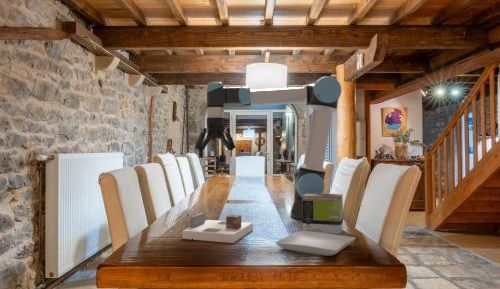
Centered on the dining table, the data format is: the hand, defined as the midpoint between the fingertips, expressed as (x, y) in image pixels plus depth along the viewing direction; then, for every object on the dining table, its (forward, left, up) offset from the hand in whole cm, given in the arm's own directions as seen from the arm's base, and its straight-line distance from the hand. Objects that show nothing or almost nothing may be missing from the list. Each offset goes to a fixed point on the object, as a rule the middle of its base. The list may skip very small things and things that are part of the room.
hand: (215, 165), depth 182 cm
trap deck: (-11, +22, -25) cm, 36 cm away
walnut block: (-17, +22, -22) cm, 36 cm away
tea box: (-48, +3, -26) cm, 55 cm away
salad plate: (-50, +30, -26) cm, 64 cm away
